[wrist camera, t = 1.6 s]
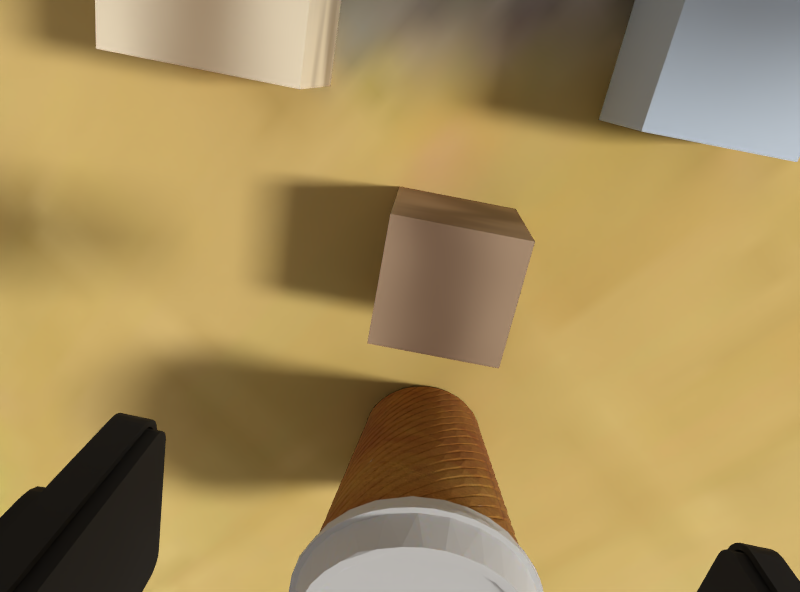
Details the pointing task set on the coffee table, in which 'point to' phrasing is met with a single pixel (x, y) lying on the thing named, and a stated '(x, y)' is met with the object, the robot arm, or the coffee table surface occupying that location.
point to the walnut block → (450, 277)
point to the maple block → (227, 36)
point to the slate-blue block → (711, 74)
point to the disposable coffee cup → (417, 509)
